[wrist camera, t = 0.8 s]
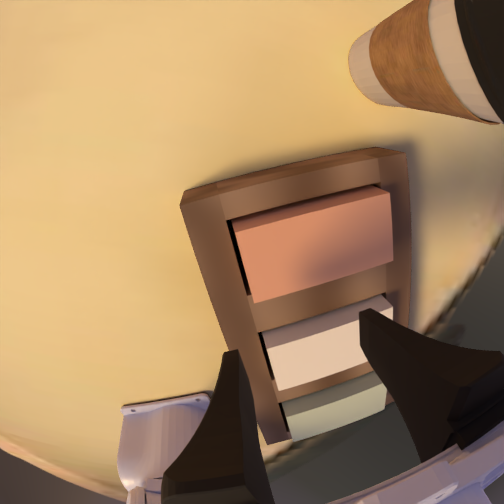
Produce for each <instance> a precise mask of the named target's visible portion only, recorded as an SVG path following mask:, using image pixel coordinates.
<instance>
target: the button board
mask: <svg viewBox="0 0 504 504" xmlns="http://www.w3.org/2000/svg"><path fill="white" fill-rule="evenodd" d="M368 184H370V185H372V186H375V187H377V188H380V189H382V190H384V191H387V192H389V193H390V202H391V216H392V234H393V261H391V262H388V263H385V264H382V265H379V266H376V267H373V268H370V269H367V270H364V271H361V272H358V273H355V274H352V275H348V276H345V277H342V278H339V279H336V280H333V281H329V282H326V283H323V284H320V285H316V286H313V287H310V288H306V289H303V290H300V291H296V292H293V293H289V294H286V295H283V296H279V297H276V298H272V299H269V300H265V301H262V302H258V303H254V301H253V297H252V294H251V291H250V287H249V284H248V280H247V277H246V273H245V270H244V267H243V268H239V264H238V261H237V257H236V253H235V250H234V246H233V243H232V239H231V235H230V232H229V228H228V224H227V221H226V220H229V219H232V218H236V217H240V216H244V215H247V214H251V213H255V212H259V211H262V210H266V209H270V208H274V207H278V206H282V205H286V204H290V203H294V202H297V201H301V200H305V199H310V198H314V197H318V196H322V195H326V194H330V193H334V192H338V191H343V190H347V189H351V188H355V187H360V186H364V185H368ZM180 209H181V212H182V215H183V218H184V222H185V225H186V228H187V231H188V234H189V237H190V240H191V243H192V247H193V250H194V253H195V256H196V259H197V262H198V265H199V268H200V271H201V274H202V277H203V279H204V282H205V285H206V288H207V291H208V294H209V297H210V300H211V302H212V305H213V308H214V311H215V314H216V316H217V319H218V322H219V325H220V327H221V330H222V333H223V336H224V338H225V341H226V344H227V346H228V349H229V351H232V350H235V349H238V350H239V353H240V356H241V359H242V361H243V364H244V367H245V370H246V372H247V375H248V378H249V381H250V385H251V390H252V394H253V398H254V405H255V413H256V420H257V422H258V424H259V427H260V429H261V431H262V434H263V436H264V439H265V441H266V443H267V445H270V444H273V443H277V442H281V441H285V440H288V439H292V436H291V433H290V430H289V426H288V423H287V420H286V416H285V413H284V409H283V406H282V402H284V401H287V400H290V399H294V398H297V397H300V396H304V395H307V394H310V393H313V392H316V391H319V390H322V389H325V388H328V387H331V386H334V385H337V384H340V383H342V382H345V381H348V380H351V379H353V378H356V377H359V376H361V375H364V374H366V373H369V372H371V371H374V370H373V368H372V367H371V365H370V364H369V362H368V361H367V362H365V363H362V364H359V365H357V366H354V367H351V368H349V369H346V370H343V371H340V372H338V373H335V374H332V375H329V376H326V377H323V378H320V379H317V380H314V381H311V382H308V383H304V384H301V385H298V386H295V387H291V388H288V389H284V390H281V391H279V390H278V387H277V384H276V380H275V377H274V374H273V370H272V367H271V363H270V360H269V357H268V353H267V350H266V348H262V345H261V342H260V338H259V335H258V332H262V331H266V330H269V329H273V328H276V327H280V326H283V325H286V324H290V323H293V322H297V321H300V320H303V319H306V318H310V317H313V316H316V315H319V314H322V313H325V312H328V311H332V310H335V309H338V308H341V307H344V306H347V305H350V304H353V303H355V302H358V301H361V300H364V299H367V298H370V297H373V296H375V295H378V294H381V295H382V296H383V297H384V298H385V299H386V300H387V301H388V302H389V303H390V304H391V305H392V306H393V321H395V322H397V323H399V324H401V325H403V326H404V327H406V328H408V320H409V306H410V288H411V212H410V194H409V180H408V169H407V159H406V153H404V152H399V151H394V150H389V149H384V148H378V147H372V148H366V149H360V150H355V151H350V152H344V153H339V154H334V155H329V156H324V157H319V158H314V159H310V160H305V161H300V162H296V163H291V164H287V165H283V166H278V167H274V168H270V169H266V170H261V171H257V172H253V173H249V174H245V175H241V176H238V177H234V178H230V179H226V180H222V181H219V182H215V183H211V184H208V185H204V186H201V187H197V188H194V189H190V190H187V191H184V193H183V196H182V199H181V203H180ZM393 401H394V399H393V398H392V396H391V394H390V393H389V392H388V390H387V393H386V400H385V405H387V404H389V403H391V402H393Z"/></svg>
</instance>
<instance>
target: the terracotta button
mask: <svg viewBox="0 0 504 504" xmlns="http://www.w3.org/2000/svg"><path fill="white" fill-rule="evenodd" d="M231 222H232V225H233V229H234V233H235V237H236V240H237V244H238V248H239V251H240V255H241V259H242V263H243V266H244V270H245V273H246V277H247V280H248V284H249V287H250V291H251V294H252V297H253V301H254V303H258V302H262V301H265V300H269V299H272V298H276V297H279V296H283V295H286V294H289V293H293V292H296V291H300V290H303V289H306V288H310V287H313V286H316V285H320V284H323V283H326V282H329V281H333V280H336V279H339V278H342V277H345V276H348V275H352V274H355V273H358V272H361V271H364V270H367V269H370V268H373V267H376V266H379V265H382V264H385V263H388V262H391V261H393V234H392V216H391V202H390V193H389V192H387V191H384V190H382V189H380V188H377V187H375V186H372V185H370V184H368V185H364V186H360V187H355V188H351V189H347V190H343V191H338V192H334V193H330V194H326V195H322V196H318V197H314V198H310V199H305V200H301V201H297V202H294V203H290V204H286V205H282V206H278V207H274V208H270V209H266V210H262V211H259V212H255V213H251V214H247V215H244V216H240V217H236V218H232V219H231Z"/></svg>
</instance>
